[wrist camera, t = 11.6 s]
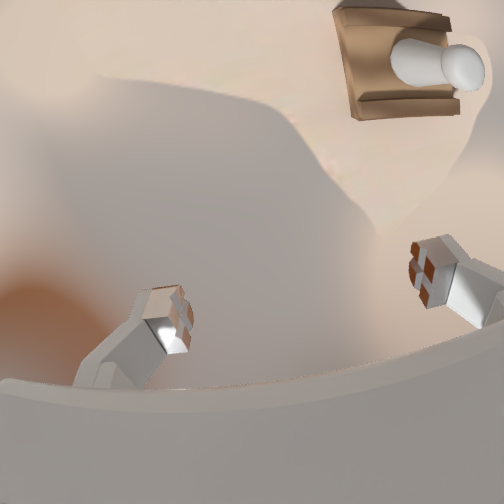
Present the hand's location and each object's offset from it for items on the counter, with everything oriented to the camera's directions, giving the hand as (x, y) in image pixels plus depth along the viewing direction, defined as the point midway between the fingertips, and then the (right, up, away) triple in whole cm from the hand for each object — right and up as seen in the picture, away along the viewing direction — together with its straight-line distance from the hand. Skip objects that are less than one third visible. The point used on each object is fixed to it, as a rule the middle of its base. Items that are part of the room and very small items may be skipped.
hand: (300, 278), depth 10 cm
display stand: (+16, +24, +19) cm, 35 cm away
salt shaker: (+16, +23, +16) cm, 32 cm away
